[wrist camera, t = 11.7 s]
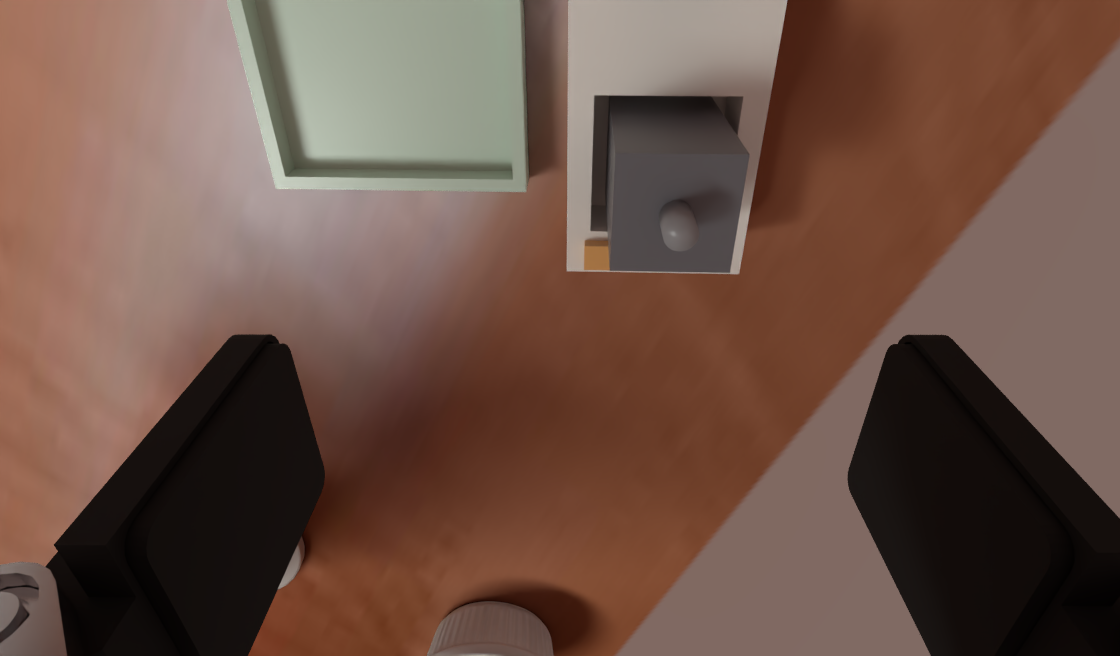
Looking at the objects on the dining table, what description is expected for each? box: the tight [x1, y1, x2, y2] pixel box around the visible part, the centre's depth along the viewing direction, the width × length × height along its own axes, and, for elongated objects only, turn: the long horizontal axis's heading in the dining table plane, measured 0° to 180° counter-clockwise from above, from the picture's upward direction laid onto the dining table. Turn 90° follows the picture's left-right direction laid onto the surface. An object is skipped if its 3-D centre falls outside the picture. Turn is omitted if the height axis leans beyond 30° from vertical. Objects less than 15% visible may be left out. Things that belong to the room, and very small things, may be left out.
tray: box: [227, 0, 529, 192], centre depth 27 cm, size 12×12×2 cm
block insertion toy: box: [567, 0, 787, 274], centre depth 23 cm, size 8×20×11 cm, turn 0°
